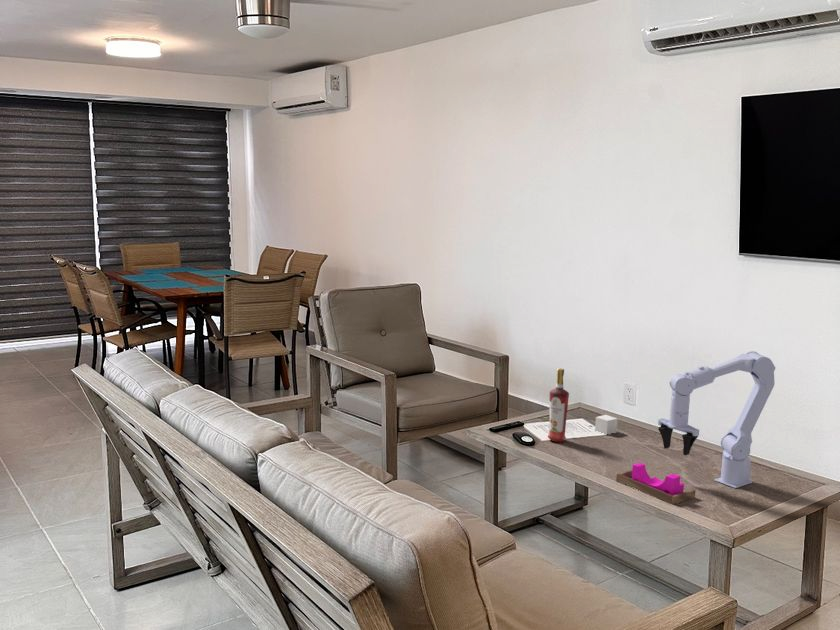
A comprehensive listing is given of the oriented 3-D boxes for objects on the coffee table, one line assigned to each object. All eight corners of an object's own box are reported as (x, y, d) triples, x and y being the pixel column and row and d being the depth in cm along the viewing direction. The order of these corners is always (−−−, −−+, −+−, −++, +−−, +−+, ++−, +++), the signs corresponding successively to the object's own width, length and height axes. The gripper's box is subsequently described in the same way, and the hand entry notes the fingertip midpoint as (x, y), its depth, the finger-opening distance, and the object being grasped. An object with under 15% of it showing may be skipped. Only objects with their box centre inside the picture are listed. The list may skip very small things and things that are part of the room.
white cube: (616, 433, 306) (617, 418, 305) (606, 435, 302) (607, 420, 301) (604, 429, 310) (605, 414, 309) (594, 431, 307) (595, 416, 306)
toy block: (683, 497, 241) (684, 474, 240) (671, 501, 238) (673, 478, 236) (642, 482, 253) (644, 461, 252) (631, 486, 249) (632, 464, 248)
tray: (638, 475, 259) (638, 468, 259) (695, 497, 241) (695, 490, 240) (616, 481, 253) (616, 473, 253) (672, 504, 235) (673, 497, 234)
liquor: (544, 441, 293) (547, 369, 288) (550, 436, 299) (554, 366, 294) (562, 444, 289) (566, 372, 285) (569, 439, 295) (572, 368, 291)
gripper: (653, 407, 254) (650, 447, 256) (690, 418, 242) (687, 459, 245) (667, 404, 258) (664, 443, 260) (704, 415, 246) (701, 455, 249)
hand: (676, 451), depth 253 cm, fingers open, 7 cm apart
